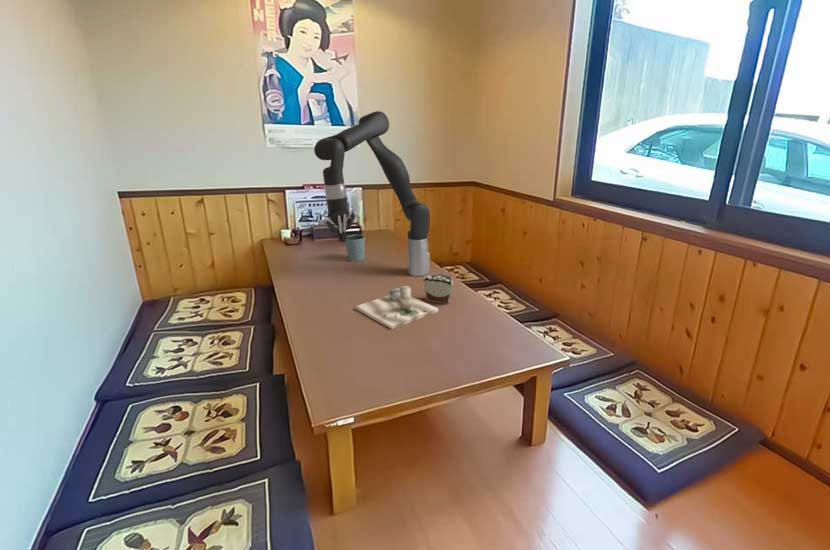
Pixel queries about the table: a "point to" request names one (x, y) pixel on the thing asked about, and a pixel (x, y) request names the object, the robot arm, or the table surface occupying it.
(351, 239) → the grey cup
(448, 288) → the food container
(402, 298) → the peg dial
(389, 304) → the dial plate
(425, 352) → the table surface
